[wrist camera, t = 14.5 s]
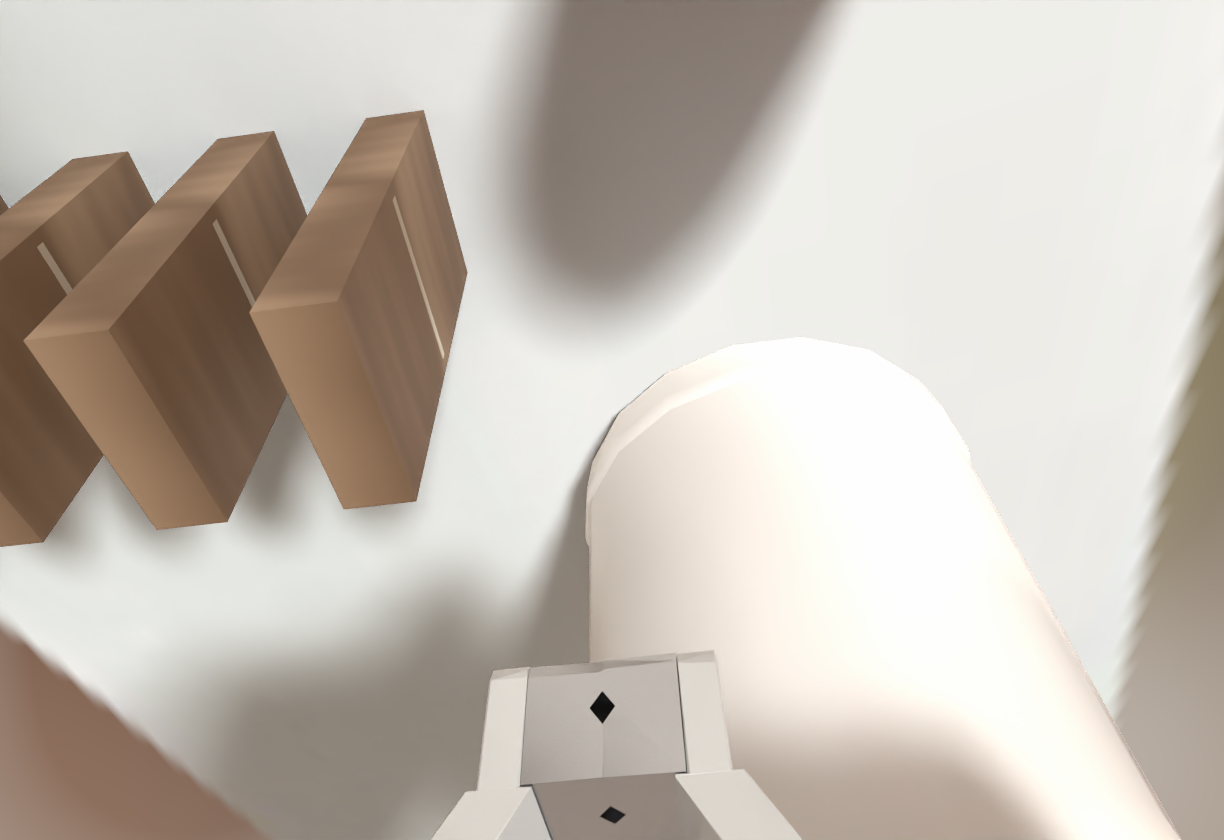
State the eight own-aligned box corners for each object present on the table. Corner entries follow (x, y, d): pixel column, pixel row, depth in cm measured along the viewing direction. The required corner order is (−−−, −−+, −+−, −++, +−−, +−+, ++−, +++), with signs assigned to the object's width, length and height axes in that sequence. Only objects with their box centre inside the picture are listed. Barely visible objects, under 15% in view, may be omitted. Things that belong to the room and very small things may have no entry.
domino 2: (286, 295, 25) (156, 530, 18) (217, 138, 22) (22, 341, 15) (336, 289, 25) (227, 521, 18) (274, 131, 22) (109, 329, 14)
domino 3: (416, 278, 25) (343, 509, 17) (365, 118, 22) (248, 313, 14) (467, 272, 25) (416, 501, 17) (423, 110, 22) (337, 301, 14)
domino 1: (158, 311, 26) (-26, 549, 18) (72, 159, 22) (-197, 368, 15) (207, 305, 26) (43, 541, 18) (128, 151, 22) (-113, 357, 15)
